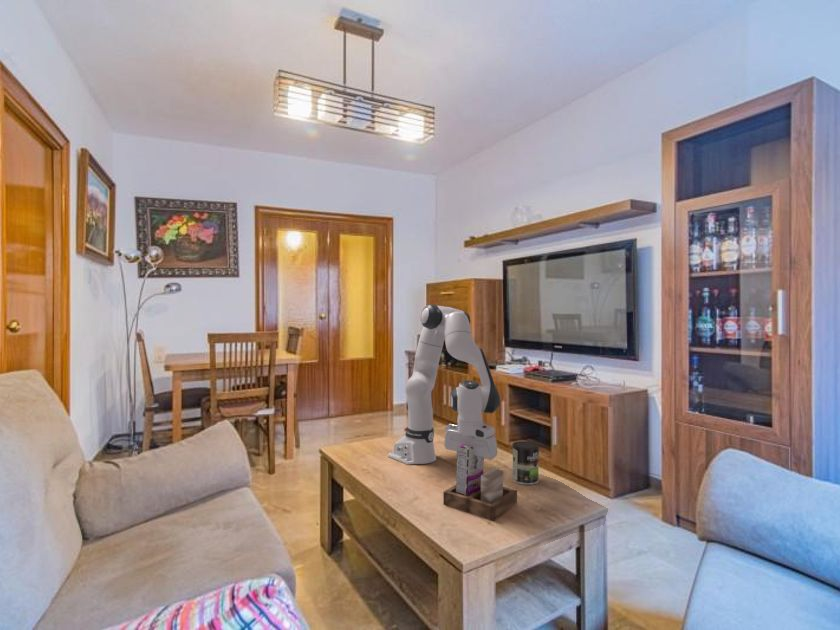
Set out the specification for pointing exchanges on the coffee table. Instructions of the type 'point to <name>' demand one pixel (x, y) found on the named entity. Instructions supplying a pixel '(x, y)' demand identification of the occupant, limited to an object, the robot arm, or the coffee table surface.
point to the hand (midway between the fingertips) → (469, 465)
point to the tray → (484, 497)
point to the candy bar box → (467, 471)
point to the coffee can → (525, 462)
